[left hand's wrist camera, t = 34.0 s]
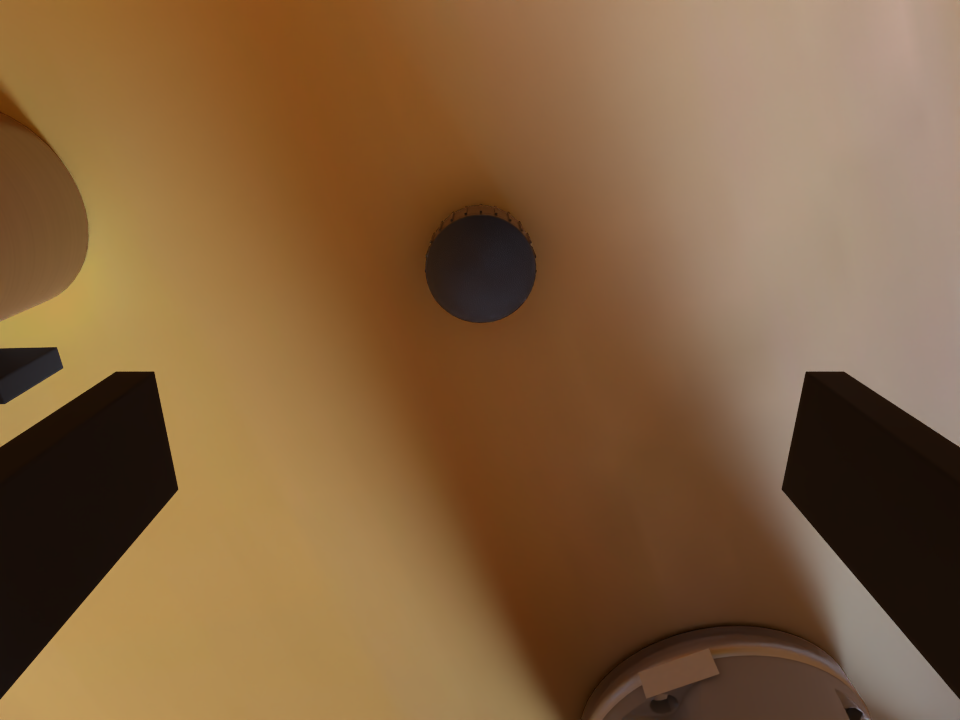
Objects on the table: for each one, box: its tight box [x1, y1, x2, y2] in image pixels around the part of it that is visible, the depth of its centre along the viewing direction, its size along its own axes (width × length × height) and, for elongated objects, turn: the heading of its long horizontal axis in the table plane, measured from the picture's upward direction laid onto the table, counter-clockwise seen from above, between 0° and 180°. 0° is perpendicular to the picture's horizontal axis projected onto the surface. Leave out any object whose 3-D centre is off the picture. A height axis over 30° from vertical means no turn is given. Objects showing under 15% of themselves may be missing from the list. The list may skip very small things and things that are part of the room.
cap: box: [425, 204, 536, 323], centre depth 23 cm, size 4×4×2 cm
